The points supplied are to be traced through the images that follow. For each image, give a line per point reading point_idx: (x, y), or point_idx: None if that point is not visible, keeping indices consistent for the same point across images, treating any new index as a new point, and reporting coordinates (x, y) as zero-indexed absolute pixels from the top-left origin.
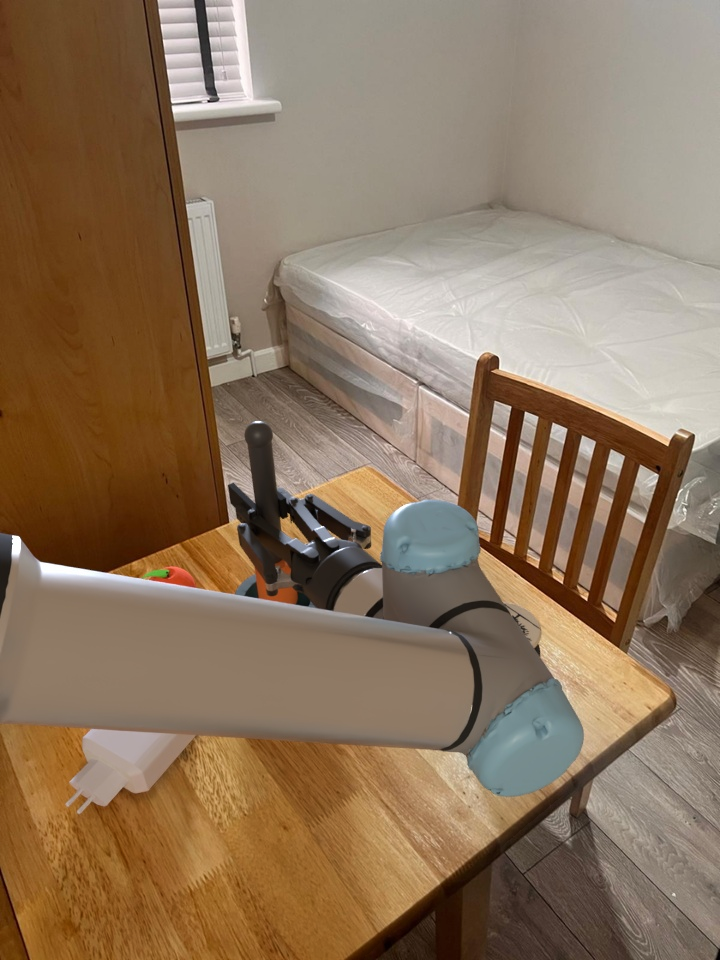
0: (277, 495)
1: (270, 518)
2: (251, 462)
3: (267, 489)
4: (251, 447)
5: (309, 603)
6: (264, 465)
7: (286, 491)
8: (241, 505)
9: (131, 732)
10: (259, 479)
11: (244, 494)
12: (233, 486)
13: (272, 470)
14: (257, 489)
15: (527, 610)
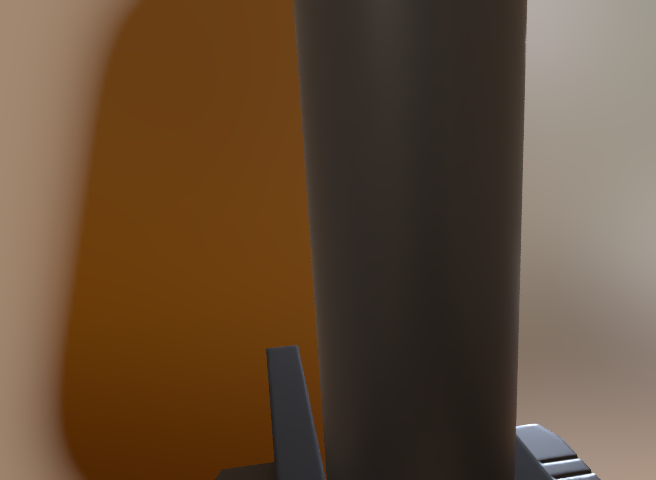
0: (512, 478)
1: None
2: (301, 85)
3: (417, 390)
4: None
5: None
6: (409, 96)
7: (583, 463)
8: (259, 477)
9: None
10: (350, 266)
11: (304, 411)
12: (283, 360)
13: (494, 196)
14: (332, 372)
15: None
